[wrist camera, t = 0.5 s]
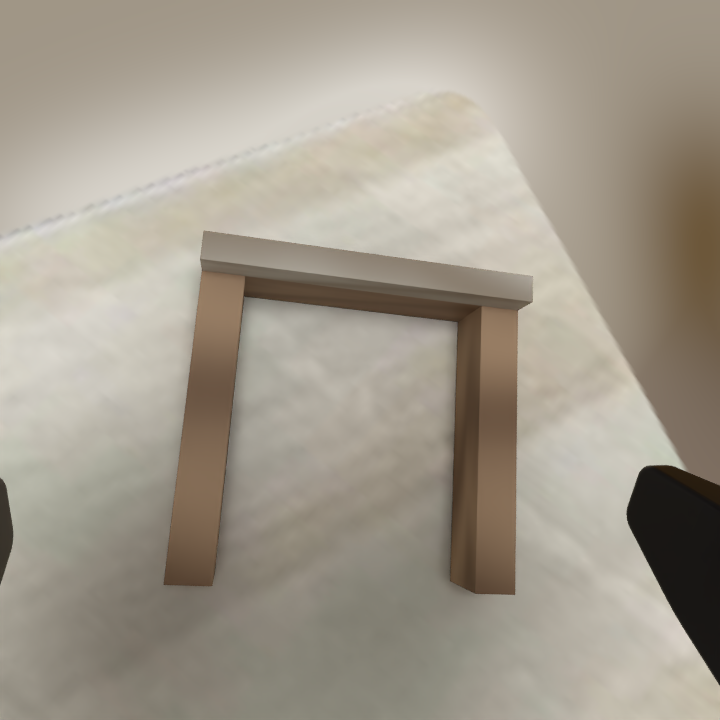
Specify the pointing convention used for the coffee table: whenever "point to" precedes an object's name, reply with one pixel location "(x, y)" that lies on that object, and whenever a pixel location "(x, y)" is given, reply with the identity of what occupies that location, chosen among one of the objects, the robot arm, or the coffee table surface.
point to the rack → (369, 293)
